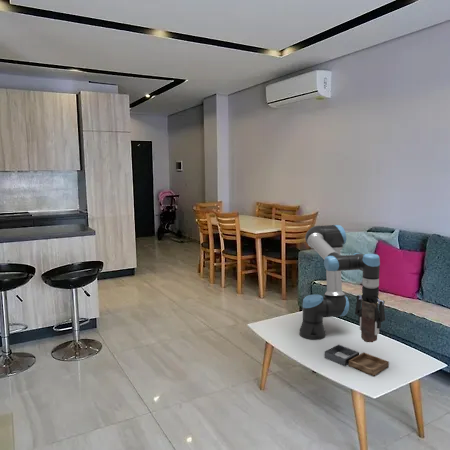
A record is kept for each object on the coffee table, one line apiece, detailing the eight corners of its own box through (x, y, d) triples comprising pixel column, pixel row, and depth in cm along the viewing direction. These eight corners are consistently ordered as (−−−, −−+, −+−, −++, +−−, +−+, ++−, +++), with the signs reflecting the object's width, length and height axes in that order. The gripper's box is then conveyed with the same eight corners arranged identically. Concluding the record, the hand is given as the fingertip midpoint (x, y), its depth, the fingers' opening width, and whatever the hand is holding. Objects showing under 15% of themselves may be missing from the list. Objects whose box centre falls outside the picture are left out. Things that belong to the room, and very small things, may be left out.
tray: (348, 366, 198) (348, 360, 198) (363, 357, 207) (363, 352, 206) (373, 376, 188) (374, 370, 187) (388, 367, 196) (388, 361, 196)
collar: (324, 357, 208) (324, 351, 207) (338, 350, 215) (338, 344, 215) (345, 366, 198) (345, 359, 198) (359, 358, 206) (359, 352, 205)
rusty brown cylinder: (358, 336, 199) (359, 298, 196) (372, 336, 199) (373, 297, 197) (364, 343, 191) (366, 303, 189) (379, 342, 192) (381, 302, 189)
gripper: (347, 283, 197) (346, 327, 200) (386, 292, 182) (384, 340, 185) (356, 280, 202) (355, 324, 205) (394, 289, 186) (392, 335, 189)
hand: (369, 331), depth 195 cm, fingers closed on rusty brown cylinder, 7 cm apart
